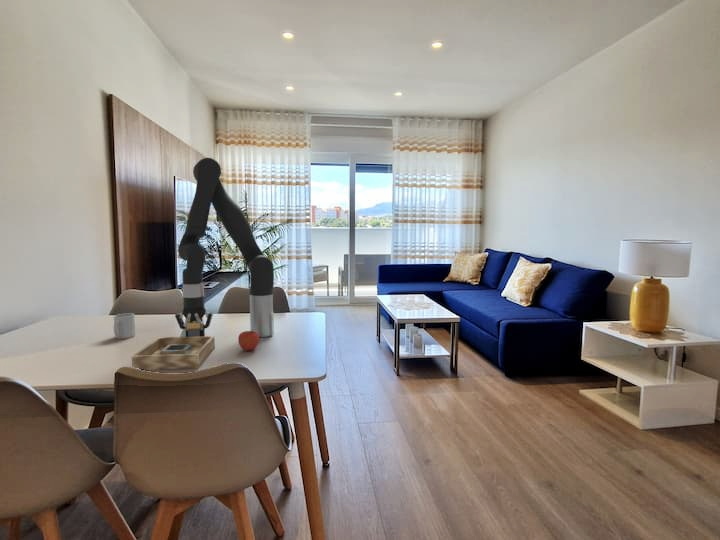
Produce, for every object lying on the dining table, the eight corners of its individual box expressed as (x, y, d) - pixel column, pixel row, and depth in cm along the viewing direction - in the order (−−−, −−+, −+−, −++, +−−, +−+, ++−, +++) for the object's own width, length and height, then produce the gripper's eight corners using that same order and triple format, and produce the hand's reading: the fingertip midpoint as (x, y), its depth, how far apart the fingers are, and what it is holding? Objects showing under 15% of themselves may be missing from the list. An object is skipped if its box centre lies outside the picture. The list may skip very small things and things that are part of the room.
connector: (203, 340, 161) (202, 320, 160) (200, 343, 156) (199, 323, 156) (191, 340, 160) (190, 320, 160) (187, 344, 156) (186, 323, 155)
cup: (139, 334, 171) (138, 313, 170) (124, 341, 161) (123, 318, 160) (122, 334, 171) (121, 313, 170) (106, 340, 161) (105, 318, 160)
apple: (242, 347, 155) (241, 326, 154) (261, 347, 155) (261, 326, 154) (235, 353, 148) (235, 331, 147) (256, 353, 147) (255, 331, 146)
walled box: (214, 348, 153) (214, 336, 153) (198, 368, 131) (197, 354, 131) (158, 349, 151) (158, 337, 151) (132, 370, 129) (131, 356, 129)
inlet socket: (192, 352, 146) (192, 343, 145) (185, 359, 138) (185, 350, 137) (169, 352, 145) (168, 344, 144) (160, 360, 137) (160, 351, 136)
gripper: (215, 293, 161) (216, 335, 163) (177, 293, 159) (179, 337, 161) (210, 296, 153) (212, 341, 155) (170, 297, 152) (172, 342, 154)
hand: (195, 338), depth 158 cm, fingers closed on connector, 4 cm apart
